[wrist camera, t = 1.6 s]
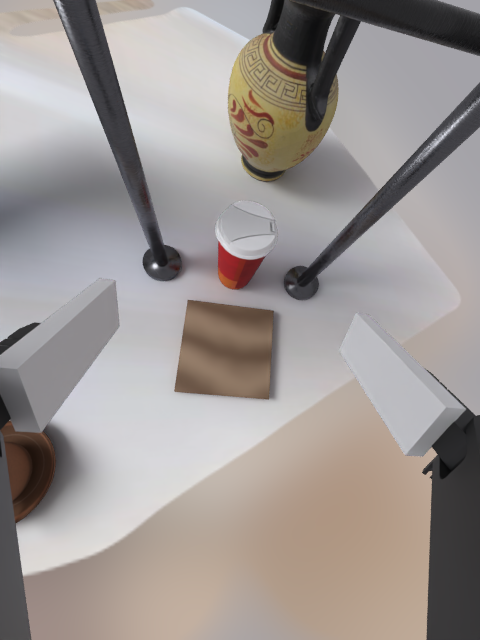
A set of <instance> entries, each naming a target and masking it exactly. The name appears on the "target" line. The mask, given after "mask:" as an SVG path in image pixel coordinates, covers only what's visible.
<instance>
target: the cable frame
mask: <svg viewBox="0 0 480 640" xmlns="http://www.w3.org/2000/svg"><path fill="white" fill-rule="evenodd" d="M53 1H54V3H55V6H56V9H57V11H58V14H59V16H60V19H61V21H62V24H63V26H64V29H65V32H66V34H67V37H68V39H69V42H70V44H71V47H72V49H73V52H74V55H75V57H76V60H77V62H78V65H79V67H80V70H81V73H82V75H83V78H84V80H85V83H86V85H87V88H88V90H89V93H90V96H91V98H92V101H93V103H94V106H95V108H96V111H97V114H98V116H99V119H100V121H101V124H102V126H103V129H104V131H105V134H106V137H107V139H108V142H109V144H110V147H111V149H112V152H113V154H114V157H115V160H116V162H117V165H118V167H119V170H120V172H121V175H122V178H123V180H124V183H125V185H126V188H127V190H128V193H129V195H130V198H131V201H132V203H133V206H134V208H135V211H136V213H137V216H138V218H139V221H140V224H141V226H142V229H143V231H144V234H145V236H146V239H147V242H148V244H149V247H150V249H149V250H147V252H146V253H145V254H144V257H143V266H144V269H145V271H146V273H147V274H148V275H149V276H150V277H151V278H153V279H155V280H159V281H167V280H170V279H172V278H174V277H175V276H177V275H178V273H179V272H180V269H181V258H180V255H179V254H178V252H177V251H176V250H175V249H174V248H172V247H170V246H167V245H164V243H163V240H162V236H161V233H160V229H159V226H158V222H157V218H156V215H155V211H154V208H153V204H152V201H151V197H150V193H149V190H148V186H147V183H146V179H145V176H144V172H143V168H142V165H141V161H140V158H139V154H138V151H137V147H136V143H135V140H134V136H133V133H132V129H131V125H130V122H129V118H128V115H127V111H126V108H125V104H124V100H123V97H122V93H121V90H120V86H119V83H118V79H117V75H116V72H115V68H114V65H113V61H112V58H111V54H110V50H109V47H108V43H107V40H106V36H105V33H104V29H103V25H102V22H101V19H100V15H99V11H98V8H97V4H96V1H95V0H53ZM290 1H293V2H297V3H300V4H304V5H307V6H310V7H314V8H317V9H321V10H324V11H327V12H331V13H334V14H338V15H341V16H345V17H348V18H351V19H355V20H358V21H362V22H365V23H368V24H372V25H375V26H379V27H383V28H386V29H389V30H393V31H396V32H400V33H403V34H406V35H410V36H413V37H416V38H420V39H423V40H427V41H430V42H433V43H437V44H440V45H444V46H447V47H451V48H454V49H457V50H461V51H464V52H468V53H471V54H475V55H478V56H480V14H479V13H475V12H472V11H469V10H466V9H463V8H460V7H456V6H453V5H450V4H447V3H444V2H440V1H438V0H290ZM479 127H480V83H479V84H478V85H477V86H476V87H475V88H474V89H473V90H472V91H471V93H470V94H469V95H468V96H467V97H466V98H465V99H464V100H463V101H462V102H461V103H460V104H459V105H458V106H457V107H456V108H455V110H454V111H453V112H452V113H451V114H450V115H449V116H448V117H447V118H446V119H445V120H444V121H443V122H442V124H441V125H440V126H439V127H438V128H437V129H436V130H435V131H434V132H433V133H432V134H431V135H430V137H429V138H428V139H427V140H426V141H425V142H424V143H423V144H422V145H421V146H420V147H419V148H418V150H417V151H416V152H415V153H414V154H413V155H412V156H411V157H410V158H409V159H408V160H407V161H406V162H405V163H404V165H403V166H402V167H401V168H400V169H399V170H398V171H397V172H396V173H395V174H394V175H393V177H391V179H390V180H389V181H388V182H387V183H386V184H385V185H384V186H383V187H382V188H381V189H380V190H379V191H378V193H377V194H376V195H375V196H374V197H373V198H372V199H371V200H370V201H369V202H368V203H367V204H366V205H365V207H364V208H363V209H362V210H361V211H360V212H359V213H358V214H357V215H356V216H355V217H354V218H353V219H352V221H351V222H350V223H349V224H348V225H347V226H346V227H345V228H344V229H343V230H342V231H341V232H340V234H339V235H338V236H337V237H336V238H335V239H334V240H333V241H332V242H331V243H330V244H329V245H328V246H327V248H326V249H325V250H324V251H323V252H322V253H321V254H320V255H319V256H318V257H317V258H316V259H315V260H314V262H313V263H312V264H311V265H310V266H309V267H308V268H307V267H304V266H297V267H294V268H292V269H291V270H290V271H289V272H288V273H287V274H286V276H285V279H284V286H285V289H286V291H287V292H288V294H289V295H290V296H292V297H293V298H295V299H298V300H306V299H309V298H310V297H312V296H313V295H314V294H315V293H316V292H317V290H318V286H319V282H318V278H317V276H318V275H319V274H320V273H321V272H322V271H323V270H324V269H325V268H327V267H328V266H329V265H330V264H331V263H332V262H333V261H334V260H335V259H336V258H337V257H339V256H340V255H341V254H342V253H343V252H344V251H345V250H346V249H347V248H348V247H349V246H351V245H352V244H353V243H354V242H355V241H356V240H357V239H358V238H359V237H360V236H361V235H363V234H364V233H365V232H366V231H367V230H368V229H369V228H370V227H371V226H372V225H373V224H375V223H376V222H377V221H378V220H379V219H380V218H381V217H382V216H383V215H384V214H385V213H387V212H388V211H389V210H390V209H391V208H392V207H393V206H394V205H395V204H396V203H398V202H399V201H400V200H401V199H402V198H403V197H404V196H405V195H406V194H407V193H408V192H409V191H411V190H412V189H413V188H414V187H415V186H416V185H417V184H418V183H419V182H420V181H421V180H423V179H424V178H425V177H426V176H427V175H428V174H429V173H430V172H431V171H432V170H433V169H435V168H436V167H437V166H438V165H439V164H440V163H441V162H442V161H443V160H444V159H446V158H447V157H448V156H449V155H450V154H451V153H452V152H453V151H454V150H455V149H456V148H457V147H458V146H460V145H461V144H462V143H463V142H464V141H465V140H466V139H467V138H468V137H470V136H471V135H472V134H473V133H474V132H475V131H476V130H477V129H478V128H479Z"/></svg>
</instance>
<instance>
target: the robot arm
mask: <svg viewBox="0 0 480 640" xmlns="http://www.w3.org/2000/svg"><path fill="white" fill-rule="evenodd" d="M119 326H120V325H119V314H118V304H117V293H116V283H115V280H109V279H102V278H99V279H98V280H96V281H95V282H94V283H92V284H91V285H90V286H89V287H87V288H86V289H85V290H83V291H82V292H81V293H80V294H78V295H77V296H76V297H74V298H73V299H72V300H71V301H69V302H68V303H67V304H65V305H64V306H63V307H62V308H60V309H59V310H58V311H56V312H55V313H54V314H52V315H51V316H50V317H49V318H47V319H46V320H45V321H43V322H42V323H32V324H30V325H27V326H25V327H23V328H20V329H18V330H17V331H16V332H14V333H13V334H11V335H10V336H9V337H8V339H4V340H3V341H2V342H0V430H1V429H2V428H3V427H4V426H5V425H6V423H7V422H8V421H9V420H11V422H12V425H13V427H14V429H15V431H19V432H35V433H41V432H42V431H43V430H44V428H45V427H46V426H47V424H48V423H49V422H50V420H51V419H52V417H53V416H54V415H55V413H56V412H57V411H58V409H59V408H60V407H61V405H62V404H63V403H64V401H65V400H66V398H67V397H68V396H69V394H70V393H71V392H72V390H73V389H74V388H75V386H76V385H77V383H78V382H79V381H80V379H81V378H82V377H83V375H84V374H85V373H86V371H87V370H88V369H89V367H90V366H91V364H92V363H93V362H94V360H95V359H96V358H97V356H98V355H99V354H100V352H101V351H102V349H103V348H104V347H105V345H106V344H107V343H108V341H109V340H110V339H111V337H112V336H113V335H114V333H115V332H116V330H117V329H118V328H119ZM339 352H340V354H341V355H342V357H343V358H344V360H345V362H346V363H347V365H348V366H349V368H350V369H351V371H352V373H353V374H354V376H355V377H356V379H357V380H358V382H359V384H360V385H361V387H362V388H363V390H364V391H365V393H366V395H367V396H368V398H369V399H370V401H371V402H372V404H373V405H374V407H375V409H376V410H377V412H378V413H379V415H380V417H381V418H382V419H383V421H384V423H385V424H386V426H387V427H388V429H389V431H390V432H391V434H392V435H393V437H394V439H395V440H396V442H397V443H398V445H399V446H400V448H401V450H402V451H403V453H404V454H405V455H407V456H424V455H425V454H426V452H427V451H428V450H429V449H430V448H431V447H433V449H434V450H435V451H436V453H437V454H438V455H437V456H436V457H435V458H434V459H433V460H432V461H431V462H430V463H429V464H428V465H427V466H426V468H424V470H423V472H422V473H423V474H425V475H426V474H427V473H428V471H432V476H431V477H430V478H431V479H432V498H431V526H430V555H429V584H428V585H429V586H428V613H427V614H428V615H427V640H480V415H478V416H475V415H474V414H473V413H472V412H471V411H470V410H469V409H468V408H467V407H466V406H465V405H464V404H463V403H462V402H461V401H460V400H459V399H458V398H457V397H456V396H455V395H453V393H451V392H450V391H449V390H447V388H446V387H445V386H444V385H443V384H442V383H441V382H439V380H438V379H437V378H436V377H435V376H434V375H433V374H432V373H431V372H429V371H428V370H426V369H425V368H423V367H422V366H421V365H420V364H419V363H418V362H417V361H416V360H415V359H414V358H413V357H412V356H411V355H410V354H409V353H408V352H407V351H406V350H405V349H404V348H403V347H402V346H401V345H400V344H399V343H398V342H397V341H396V340H395V339H394V338H393V337H392V336H391V335H390V334H389V333H387V332H386V331H385V330H384V329H383V328H382V327H381V326H380V325H379V324H378V323H377V322H376V321H375V320H374V319H373V318H372V317H371V316H370V315H369V314H363V313H356V314H355V316H354V319H353V321H352V323H351V325H350V327H349V330H348V332H347V334H346V336H345V338H344V341H343V343H342V345H341V347H340V349H339ZM0 640H31V634H30V626H29V619H28V612H27V604H26V597H25V590H24V583H23V575H22V568H21V561H20V553H19V546H18V539H17V531H16V524H15V517H14V510H13V502H12V495H11V488H10V480H9V473H8V466H7V458H6V451H5V444H4V437H3V435H2V433H1V431H0Z"/></svg>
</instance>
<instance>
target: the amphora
mask: <svg viewBox="0 0 480 640" xmlns="http://www.w3.org/2000/svg"><path fill="white" fill-rule="evenodd" d="M334 15H335V14H334V13H331V12H327V11H324V10H321V9H317V8H314V7H310V6H307V5H304V4H300V3H297V2H293V1H290V0H272V1H271V6H270V10H269V14H268V17H267V20H266V23H265V25H264V27H263V34H261V35H259V36H257V37H255V38H253V39H252V40H250V41H249V42H248V43H247V44H246V45H245V47H244V48H243V49H242V50H241V52H240V53H239V55H238V57H237V59H236V61H235V63H234V66H233V69H232V73H231V77H230V83H229V90H228V113H229V120H230V126H231V130H232V134H233V136H234V139H235V142H236V144H237V147H238V148H239V150H240V152H241V153H242V156H241V162H242V165H243V167H244V169H245V170H246V172H247V173H248V174H249V175H251V176H252V177H254V178H256V179H258V180H262V181H272V180H276V179H278V178H279V177H281V176H282V175H283V173H284V172H285V170H286V169H289V168H291V167H293V166H295V165H297V164H298V163H300V162H301V161H303V160H304V159H305V158H306V157H307V156H308V155H310V154H311V153H312V152H313V151H314V149H315V148H316V147H317V146H318V145H319V143H320V142H321V140H322V139H323V137H324V136H325V134H326V132H327V130H328V128H329V126H330V124H331V122H332V119H333V117H334V114H335V111H336V106H337V101H338V79H337V75H336V73H337V71H338V69H339V67H340V65H341V62H342V60H343V58H344V56H345V54H346V52H347V50H348V47H349V45H350V43H351V41H352V39H353V37H354V35H355V33H356V31H357V28H358V26H359V24H360V22H361V21H358V20H355V19H351V18H348V17H345V16H341V15H340V17H339V20H338V22H337V25H336V27H335V30H334V32H333V35H332V38H331V40H330V42H329V45H328V47H327V50H326V53H325V52H324V51H323V49H324V43H325V40H326V36H327V32H328V29H329V26H330V24H331V21H332V19H333V17H334Z"/></svg>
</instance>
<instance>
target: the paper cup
mask: <svg viewBox="0 0 480 640" xmlns="http://www.w3.org/2000/svg"><path fill="white" fill-rule="evenodd" d="M215 234H216V237H217V239H218V240H219V241H218V275H219V279H220V281H221V282H222V284H223V285H224V286H226V287H228V288H230V289H240V288H243V287H244V286H246V285H247V284H248V282H249V281H250V279H251V278H252V276H253V275H254V273H255V272H256V270H257V269H258V267H259V266H260V264H261V262H262V261H263V259H264V258H265V256H266V255H267V254H269V253H270V252H271V251H272V250H273V248H274V247H275V245H276V242H277V238H278V232H277V227H276V224H275V219H274V216H273V215H272V213H271V212H270V211H269V210H268V209H267V208H266V207H264V206H263V205H261V204H259V203H257V202H254V201H238V202H235V203H233V204H231V205H230V206H229V207H228V208H227V209H226V210H225V211H224V212H223V213H222V214H221V215H220V217H219V219H218V220H217V222H216V224H215Z"/></svg>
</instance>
